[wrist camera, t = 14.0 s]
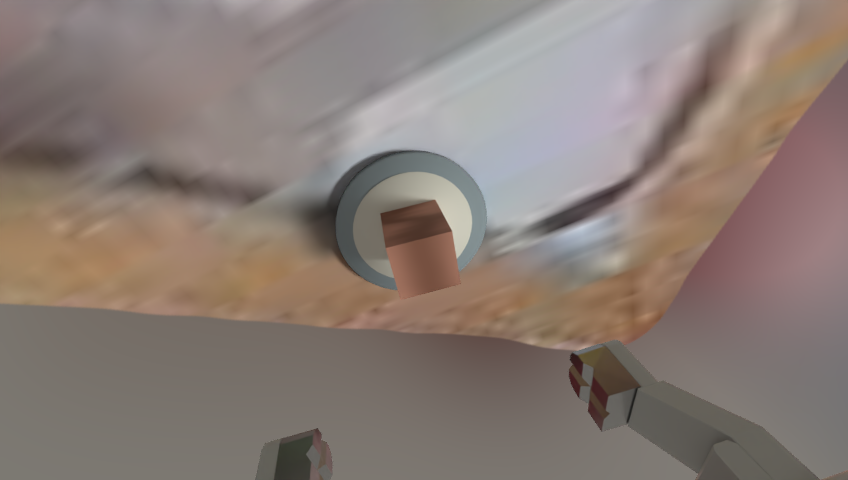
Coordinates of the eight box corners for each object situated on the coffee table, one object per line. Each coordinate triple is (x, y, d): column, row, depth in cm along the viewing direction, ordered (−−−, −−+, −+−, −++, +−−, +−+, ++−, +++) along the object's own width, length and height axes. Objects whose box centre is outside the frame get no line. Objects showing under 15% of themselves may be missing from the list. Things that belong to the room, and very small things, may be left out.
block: (393, 259, 32) (400, 299, 27) (380, 213, 30) (385, 248, 24) (444, 246, 32) (460, 283, 27) (435, 199, 30) (452, 231, 25)
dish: (360, 299, 35) (360, 306, 34) (313, 172, 28) (311, 177, 27) (489, 265, 36) (493, 271, 35) (475, 134, 29) (479, 137, 28)
